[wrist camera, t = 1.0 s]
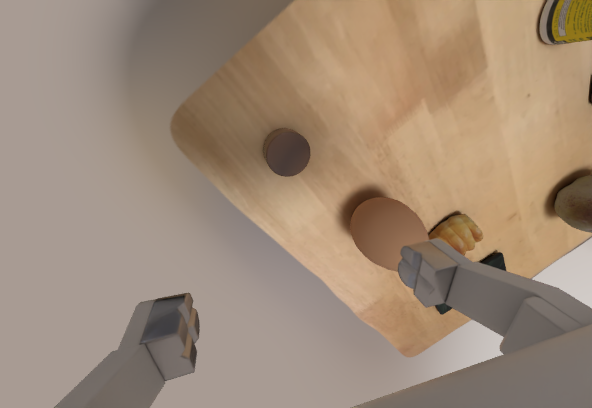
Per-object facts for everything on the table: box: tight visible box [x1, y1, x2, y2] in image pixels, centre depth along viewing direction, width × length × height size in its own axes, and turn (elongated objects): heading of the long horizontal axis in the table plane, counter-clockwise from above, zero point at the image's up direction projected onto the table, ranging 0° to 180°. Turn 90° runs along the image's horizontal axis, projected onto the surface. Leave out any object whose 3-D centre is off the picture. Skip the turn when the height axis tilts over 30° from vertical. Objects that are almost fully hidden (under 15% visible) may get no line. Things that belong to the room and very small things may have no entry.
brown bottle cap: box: [263, 128, 310, 176], centre depth 25 cm, size 5×5×2 cm
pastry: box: [428, 214, 483, 256], centre depth 37 cm, size 9×7×4 cm
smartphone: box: [435, 252, 506, 314], centre depth 46 cm, size 7×1×15 cm
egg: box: [351, 197, 429, 272], centre depth 28 cm, size 8×8×11 cm
